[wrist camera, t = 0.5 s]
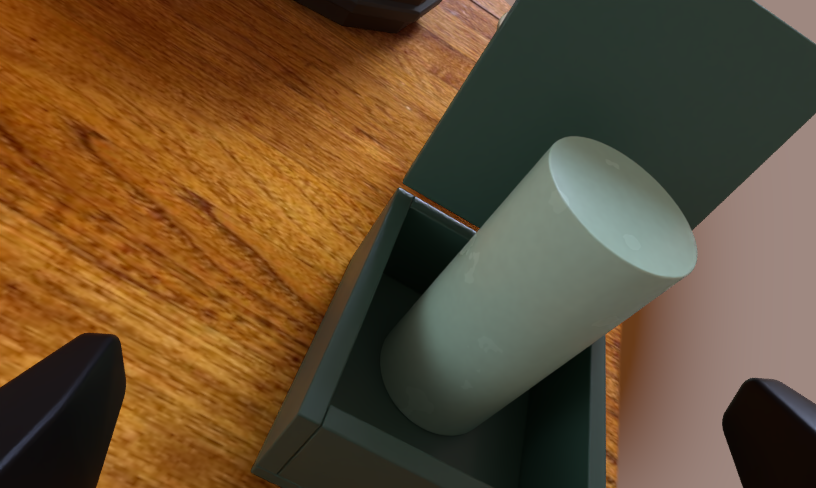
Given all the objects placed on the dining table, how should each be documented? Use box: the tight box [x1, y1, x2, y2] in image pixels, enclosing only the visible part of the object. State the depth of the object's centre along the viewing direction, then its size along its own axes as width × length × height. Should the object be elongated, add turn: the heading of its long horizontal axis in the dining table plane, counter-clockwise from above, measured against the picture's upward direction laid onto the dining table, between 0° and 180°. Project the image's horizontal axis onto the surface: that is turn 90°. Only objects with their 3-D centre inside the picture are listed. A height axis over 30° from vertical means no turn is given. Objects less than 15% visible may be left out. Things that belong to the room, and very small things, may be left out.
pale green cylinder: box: [380, 136, 697, 436], centre depth 22 cm, size 6×6×12 cm
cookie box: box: [251, 187, 606, 488], centre depth 24 cm, size 12×11×5 cm
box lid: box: [403, 0, 816, 230], centre depth 22 cm, size 12×11×1 cm
